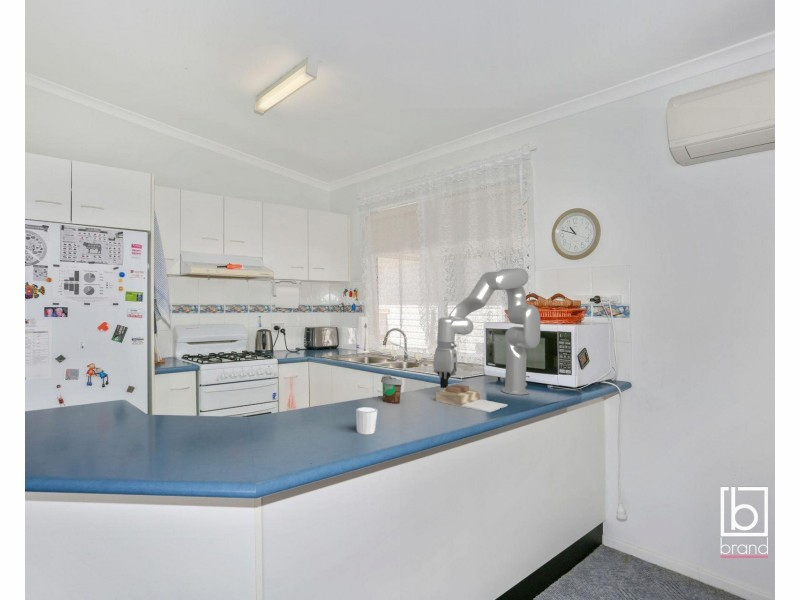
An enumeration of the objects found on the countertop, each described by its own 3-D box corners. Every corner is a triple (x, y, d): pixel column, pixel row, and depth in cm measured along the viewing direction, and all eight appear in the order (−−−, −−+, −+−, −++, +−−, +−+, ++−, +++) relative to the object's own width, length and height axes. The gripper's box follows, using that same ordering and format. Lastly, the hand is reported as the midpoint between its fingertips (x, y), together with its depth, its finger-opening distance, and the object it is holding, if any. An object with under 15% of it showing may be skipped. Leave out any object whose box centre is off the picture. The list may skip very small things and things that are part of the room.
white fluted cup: (379, 429, 141) (380, 408, 141) (372, 436, 134) (373, 413, 134) (359, 427, 143) (360, 405, 143) (351, 433, 136) (352, 410, 136)
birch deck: (455, 395, 198) (456, 386, 198) (479, 400, 191) (479, 391, 191) (435, 401, 186) (436, 391, 186) (460, 406, 178) (460, 396, 178)
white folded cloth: (480, 400, 190) (480, 399, 190) (507, 405, 183) (507, 404, 183) (461, 406, 178) (461, 405, 178) (489, 412, 170) (489, 411, 170)
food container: (375, 398, 186) (376, 374, 186) (388, 397, 188) (389, 374, 188) (387, 405, 174) (388, 380, 174) (401, 404, 177) (402, 379, 177)
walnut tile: (456, 388, 194) (457, 384, 194) (468, 391, 190) (468, 386, 190) (445, 391, 187) (446, 386, 187) (457, 393, 183) (458, 389, 183)
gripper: (464, 347, 191) (463, 389, 191) (436, 343, 201) (434, 383, 201) (455, 348, 185) (453, 391, 185) (426, 344, 195) (425, 385, 195)
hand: (443, 387), depth 193 cm, fingers closed
